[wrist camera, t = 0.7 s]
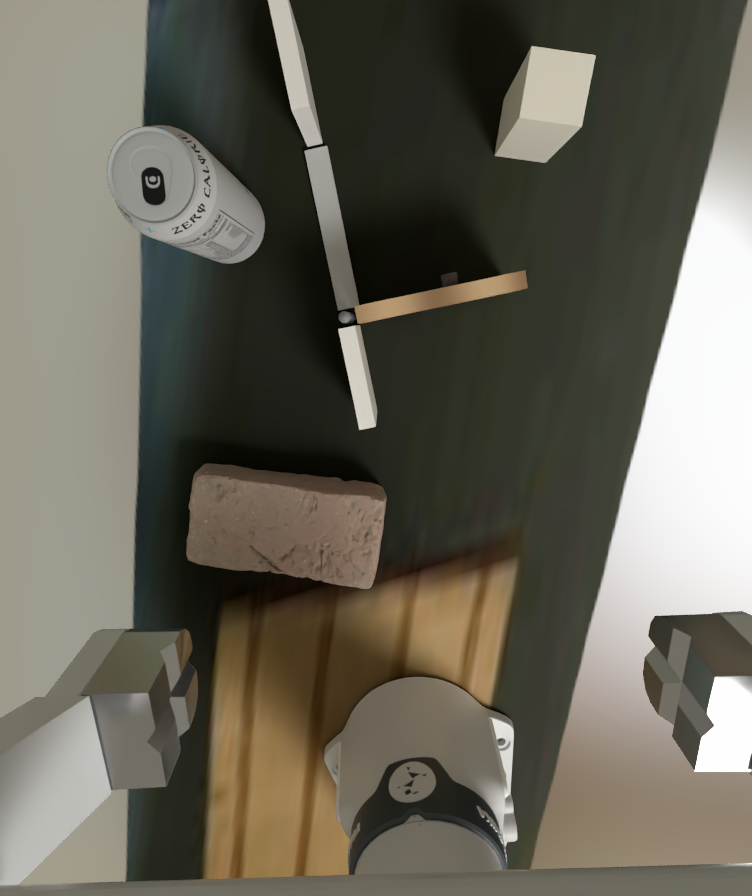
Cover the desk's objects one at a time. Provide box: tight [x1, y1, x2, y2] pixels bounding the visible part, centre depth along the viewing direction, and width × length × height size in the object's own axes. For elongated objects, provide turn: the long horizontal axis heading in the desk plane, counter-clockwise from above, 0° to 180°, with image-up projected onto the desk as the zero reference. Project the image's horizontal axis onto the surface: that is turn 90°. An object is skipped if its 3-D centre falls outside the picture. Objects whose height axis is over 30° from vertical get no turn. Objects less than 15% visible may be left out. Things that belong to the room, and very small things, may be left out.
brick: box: [186, 463, 387, 589], centre depth 47 cm, size 17×8×5 cm, turn 83°
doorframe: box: [268, 0, 377, 430], centre depth 40 cm, size 28×2×8 cm, turn 11°
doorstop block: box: [495, 46, 596, 163], centre depth 38 cm, size 4×4×8 cm
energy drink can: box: [107, 125, 265, 264], centre depth 36 cm, size 6×6×15 cm
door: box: [354, 270, 528, 324], centre depth 41 cm, size 12×2×6 cm, turn 101°
